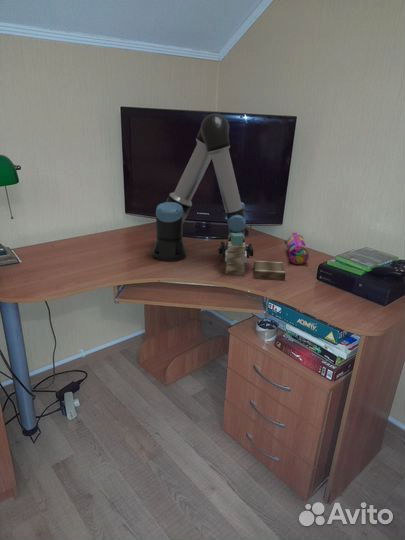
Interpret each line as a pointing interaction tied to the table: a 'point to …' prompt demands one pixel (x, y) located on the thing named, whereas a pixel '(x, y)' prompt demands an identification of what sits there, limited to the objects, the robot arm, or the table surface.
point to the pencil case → (297, 249)
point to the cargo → (236, 239)
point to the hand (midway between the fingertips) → (235, 258)
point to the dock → (269, 270)
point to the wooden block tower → (235, 260)
